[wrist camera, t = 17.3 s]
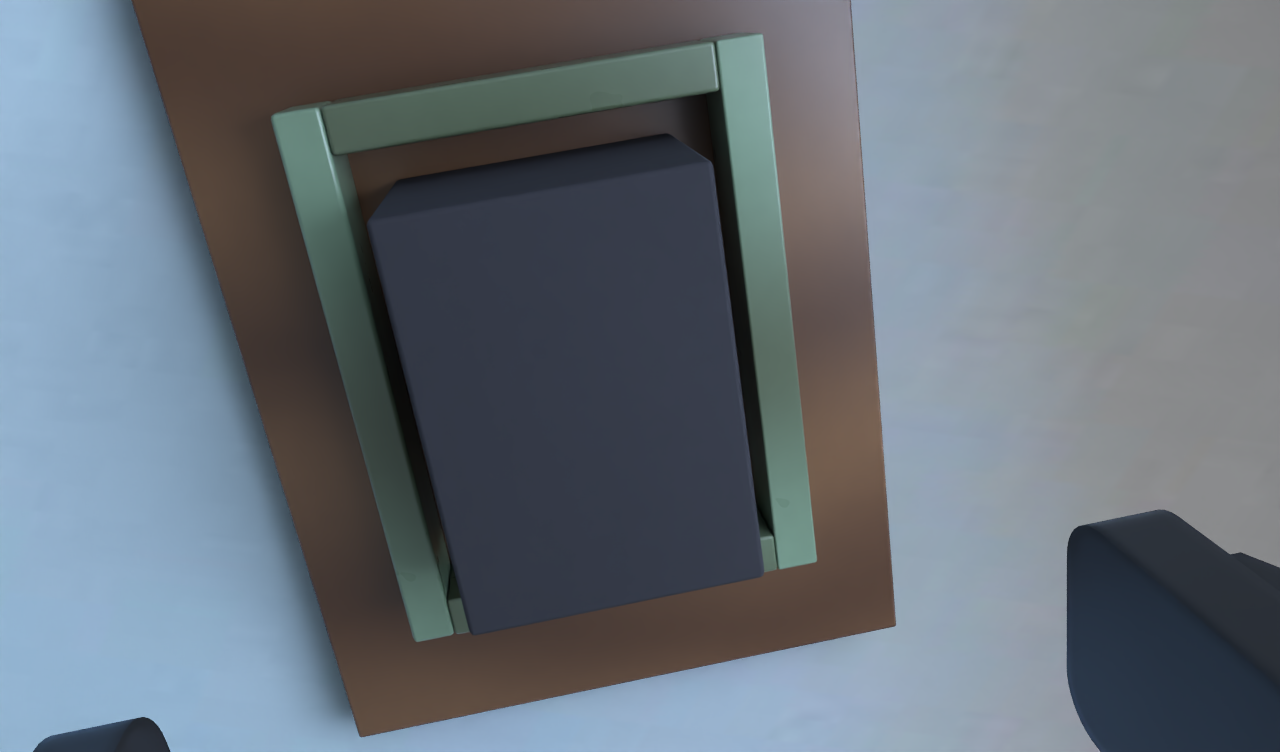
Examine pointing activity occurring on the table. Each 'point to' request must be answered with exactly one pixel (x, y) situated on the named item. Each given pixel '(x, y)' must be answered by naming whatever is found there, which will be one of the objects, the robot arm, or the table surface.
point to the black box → (573, 377)
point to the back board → (365, 343)
